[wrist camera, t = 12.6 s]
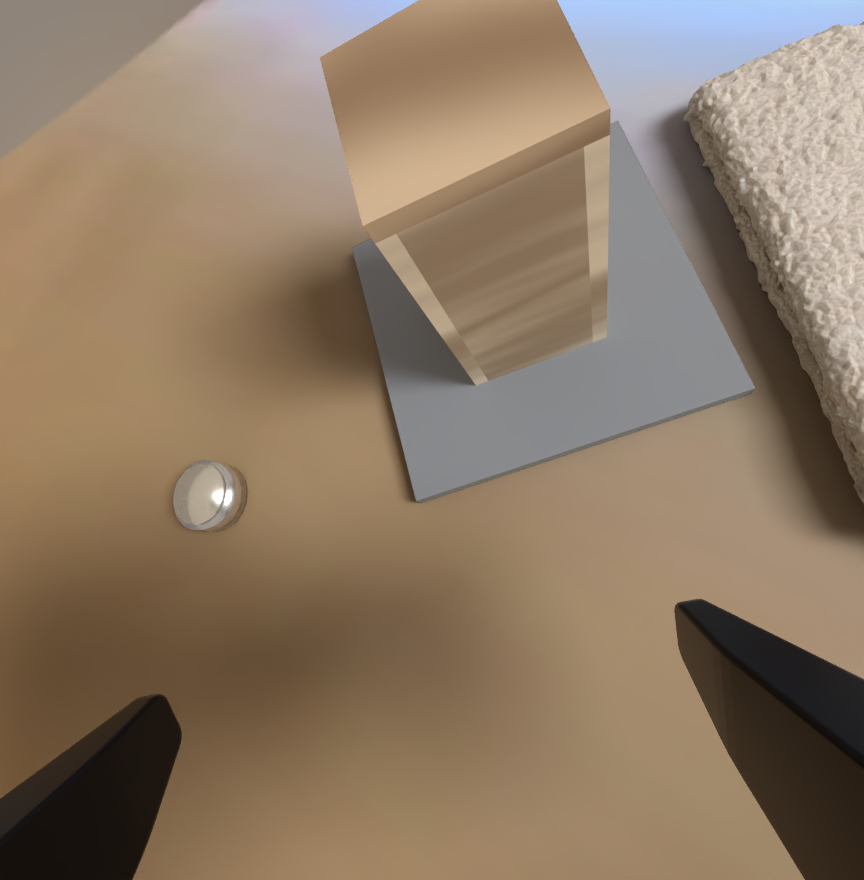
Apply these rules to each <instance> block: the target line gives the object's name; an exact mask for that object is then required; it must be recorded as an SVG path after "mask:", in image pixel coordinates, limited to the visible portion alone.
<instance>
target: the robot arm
mask: <svg viewBox="0 0 864 880" xmlns="http://www.w3.org/2000/svg"><path fill="white" fill-rule="evenodd" d="M675 621H676V630H677V639H678V646H679V650H680V654H681V656H682V659H683V661H684V663H685V665H686V668H687V670H688V672H689V674H690V676H691V678H692V680H693V682H694V684H695V686H696V688H697V690H698V692H699V694H700V697H701V699H702V701H703V703H704V705H705V707H706V709H707V711H708V713H709V715H710V717H711V719H712V721H713V723H714V726H715V728H716V730H717V732H718V734H719V736H720V738H721V740H722V742H723V744H724V746H725V748H726V750H727V752H728V754H729V756H730V757H731V759H732V761H733V762H734V764H735V766H736V768H737V769H738V771H739V773H740V774H741V776H742V778H743V779H744V781H745V782H746V784H747V786H748V787H749V789H750V791H751V792H752V794H753V796H754V797H755V799H756V800H757V802H758V804H759V805H760V807H761V809H762V810H763V812H764V814H765V815H766V817H767V818H768V820H769V822H770V823H771V825H772V827H773V828H774V830H775V831H776V833H777V835H778V836H779V838H780V840H781V841H782V843H783V845H784V846H785V848H786V849H787V851H788V853H789V854H790V856H791V858H792V859H793V861H794V863H795V864H796V866H797V867H798V869H799V871H800V872H801V874H802V876H803V877H804V879H805V880H864V679H862V678H860V677H858V676H856V675H854V674H852V673H850V672H848V671H846V670H844V669H842V668H840V667H838V666H836V665H834V664H832V663H830V662H828V661H826V660H824V659H822V658H820V657H818V656H816V655H814V654H812V653H810V652H808V651H806V650H804V649H802V648H800V647H798V646H796V645H794V644H792V643H790V642H788V641H786V640H784V639H782V638H780V637H778V636H776V635H774V634H772V633H770V632H768V631H766V630H763V629H761V628H759V627H757V626H755V625H753V624H751V623H749V622H747V621H745V620H743V619H741V618H739V617H737V616H735V615H733V614H731V613H729V612H727V611H725V610H723V609H721V608H719V607H717V606H715V605H713V604H711V603H709V602H707V601H705V600H702V599H695V600H689V601H683V602H679V603H677V604H676V605H675ZM180 743H181V728H180V725H179V723H178V721H177V719H176V717H175V715H174V713H173V711H172V709H171V706H170V704H169V702H168V700H167V699H166V697H165V696H163V695H161V694H155V695H149V696H144V697H140V698H137V699H136V700H134V701H133V702H131V703H130V704H129V705H127V706H126V707H125V708H123V709H122V710H121V711H119V712H118V713H116V714H115V715H114V716H112V717H111V718H110V719H108V720H107V721H106V722H104V723H103V724H101V725H100V726H99V727H97V728H96V729H95V730H93V731H92V732H91V733H89V734H88V735H87V736H85V737H84V738H82V739H81V740H80V741H78V742H77V743H76V744H74V745H73V746H72V747H70V748H69V749H67V750H66V751H65V752H63V753H62V754H61V755H59V756H58V757H57V758H55V759H54V760H52V761H51V762H50V763H48V764H47V765H46V766H44V767H43V768H42V769H40V770H39V771H37V772H36V773H35V774H33V775H32V776H31V777H29V778H28V779H27V780H25V781H24V782H23V783H21V784H20V785H18V786H17V787H16V788H14V789H13V790H12V791H10V792H9V793H8V794H6V795H5V796H3V797H2V798H1V799H0V880H133V877H134V875H135V873H136V870H137V868H138V865H139V863H140V861H141V858H142V856H143V853H144V851H145V848H146V846H147V843H148V841H149V838H150V835H151V832H152V829H153V826H154V823H155V821H156V817H157V814H158V811H159V808H160V805H161V802H162V799H163V796H164V793H165V790H166V787H167V784H168V781H169V778H170V775H171V771H172V768H173V765H174V762H175V759H176V756H177V753H178V750H179V747H180Z"/></svg>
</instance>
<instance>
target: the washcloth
mask: <svg viewBox="0 0 864 880" xmlns="http://www.w3.org/2000/svg"><path fill="white" fill-rule="evenodd" d="M683 121H686V122H689V125H690V128H691V134H692V136H693V137H694V140H695V141H696V142H697V143H698V144H699V147H700V150H701V154H702V157H703V158H704V160H706V161H704V163H703V166H707V167H709V168H710V171H711V172H712V174H713V175H714V177H715V181H714V186H715V187H716V188H717V189H718V191H719V192H720V194H721V195H722V197H723V198H724V201H725V202H726V203H727V205H728V208H729V211H730V212H731V214H732V215H733V217H734V222H735V224H736V228H735V229H738V230H740V233H739V236H740V239H742V240H743V241H744V244H745V246H746V253H747V256H748V259H749V261H752V262H753V263H754V264H755V266H756V267H757V273H758V282H759V283H760V284H762V290H763V291H765V292H767V293H768V298H769V300H770V302H771V303H772V304H773V305H774V307H775V308H776V310H777V317H778V318H779V319H780V320H781V321H782V322H783V324H784V327H785V328H786V329H787V330H788V331H789V332H790V334H791V335H792V343H793V346H794V348H795V349H796V351H797V353H798V355H799V359H800V363H801V367H802V369H804V370H805V371H806V372H807V373H808V374H809V376H810V377H811V381H812V382H813V383H814V387H815V389H816V391H817V394H818V397H819V399H820V400H821V407H822V410H823V414H824V415H825V416H826V417H827V418H828V419H829V421H830V423H831V425H832V434H833V436H834V438H835V439H836V441H837V444H838V447H839V449H840V450H841V452H842V453H843V459H844V461H845V462H846V463H847V465H848V471H849V473H850V475H851V476H852V478H853V479H854V481H855V484H854V485H853V486H854V487H855V490H856V491H857V494H858V496H859V498H860V499H861V501H862V502H863V505H864V22H863V23H861V24H860V25H855V26H852V25H840V24H838V25H835V26H832V27H830V28H829V29H828V30H826V31H824V32H821V33H817V34H816V35H814V36H813V37H808V38H804V39H802V40H799V41H797V42H794V43H791V44H788V45H785V46H783V47H781V48H779V49H778V50H777V51H774V52H772V53H771V54H768V55H766V56H764V57H760V58H756V59H755V60H754V61H751V62H748V63H746V64H743V65H742V66H740V67H739V68H737V69H736V70H733V71H731V72H728V73H724V74H722V75H720V76H718V77H716V78H714V79H710V80H707V81H706V82H705V84H704V85H702V86H700V88H699V89H698V90H697V91H696V92H695V93H694V95H693V97H692V98H691V99H690V102H689V105H688V110H687V113H686V114H685V116H684V117H683Z"/></svg>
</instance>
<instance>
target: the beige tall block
mask: <svg viewBox="0 0 864 880" xmlns="http://www.w3.org/2000/svg"><path fill="white" fill-rule="evenodd" d="M320 60H321V64H322V68H323V72H324V76H325V80H326V83H327V87H328V91H329V95H330V99H331V103H332V107H333V111H334V115H335V119H336V123H337V127H338V131H339V135H340V139H341V143H342V147H343V150H344V154H345V158H346V162H347V166H348V170H349V174H350V178H351V182H352V186H353V190H354V194H355V198H356V202H357V206H358V210H359V214H360V217H361V221H362V225H363V227H364V229H365V230H366V231H367V233H368V234H369V236H370V237H371V239H372V240H373V241H374V243H375V244H376V246H377V247H378V248H379V250H380V251H381V253H382V254H383V255H384V257H385V258H386V260H387V261H388V262H389V264H390V265H391V267H392V268H393V269H394V271H395V272H396V274H397V275H398V276H399V278H400V279H401V281H402V282H403V284H404V285H405V286H406V288H407V289H408V291H409V292H410V293H411V295H412V296H413V298H414V299H415V300H416V302H417V303H418V305H419V306H420V307H421V309H422V310H423V312H424V313H425V314H426V316H427V317H428V319H429V320H430V321H431V323H432V324H433V326H434V327H435V329H436V330H437V331H438V333H439V334H440V336H441V337H442V338H443V340H444V341H445V343H446V344H447V345H448V347H449V348H450V350H451V351H452V352H453V354H454V355H455V357H456V358H457V359H458V361H459V362H460V364H461V365H462V366H463V368H464V369H465V371H466V372H467V374H468V375H469V376H470V378H471V379H472V381H473V382H474V383H475V385H479V384H482V383H485V382H487V381H490V380H493V379H495V378H498V377H501V376H503V375H506V374H509V373H512V372H514V371H517V370H520V369H522V368H525V367H528V366H530V365H533V364H536V363H539V362H541V361H544V360H547V359H549V358H552V357H555V356H558V355H560V354H563V353H566V352H568V351H571V350H574V349H576V348H579V347H582V346H585V345H587V344H590V343H593V342H595V341H598V340H601V339H604V338H606V337H607V289H608V227H609V164H610V106H609V104H608V102H607V100H606V98H605V96H604V94H603V92H602V90H601V88H600V86H599V84H598V82H597V80H596V78H595V76H594V74H593V72H592V70H591V68H590V66H589V64H588V62H587V60H586V58H585V56H584V54H583V52H582V50H581V48H580V46H579V44H578V42H577V40H576V38H575V36H574V34H573V32H572V30H571V28H570V26H569V24H568V22H567V20H566V18H565V16H564V14H563V12H562V10H561V8H560V6H559V4H558V2H557V0H419V1H417V2H415V3H413V4H412V5H410V6H408V7H407V8H405V9H403V10H401V11H400V12H398V13H396V14H394V15H393V16H391V17H389V18H388V19H386V20H384V21H382V22H381V23H379V24H377V25H375V26H374V27H372V28H370V29H369V30H367V31H365V32H363V33H362V34H360V35H358V36H356V37H355V38H353V39H351V40H349V41H348V42H346V43H344V44H343V45H341V46H339V47H337V48H336V49H334V50H332V51H330V52H329V53H327V54H325V55H324V56H322V57H320Z"/></svg>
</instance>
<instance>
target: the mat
mask: <svg viewBox="0 0 864 880" xmlns="http://www.w3.org/2000/svg"><path fill="white" fill-rule="evenodd" d="M352 250H353V254H354V258H355V262H356V266H357V270H358V274H359V278H360V282H361V286H362V290H363V293H364V297H365V301H366V305H367V309H368V313H369V317H370V321H371V325H372V329H373V333H374V337H375V341H376V345H377V349H378V353H379V357H380V361H381V365H382V369H383V372H384V376H385V380H386V384H387V388H388V392H389V396H390V400H391V404H392V408H393V412H394V416H395V420H396V424H397V428H398V432H399V436H400V440H401V444H402V448H403V451H404V455H405V459H406V463H407V467H408V471H409V475H410V479H411V483H412V487H413V491H414V495H415V499H416V501H417V502H420V503H423V502H426V501H429V500H432V499H435V498H438V497H441V496H444V495H447V494H450V493H453V492H456V491H459V490H462V489H465V488H468V487H471V486H474V485H477V484H480V483H483V482H486V481H489V480H492V479H495V478H498V477H501V476H504V475H507V474H510V473H513V472H516V471H519V470H522V469H525V468H528V467H531V466H534V465H537V464H540V463H543V462H546V461H549V460H552V459H555V458H558V457H562V456H565V455H568V454H571V453H574V452H577V451H580V450H583V449H586V448H589V447H592V446H595V445H598V444H601V443H604V442H607V441H610V440H613V439H616V438H619V437H622V436H625V435H628V434H631V433H634V432H637V431H640V430H643V429H646V428H649V427H652V426H655V425H658V424H661V423H664V422H667V421H670V420H673V419H676V418H679V417H682V416H685V415H688V414H691V413H694V412H697V411H700V410H703V409H707V408H710V407H713V406H716V405H719V404H722V403H725V402H728V401H731V400H734V399H737V398H740V397H743V396H746V395H749V394H751V393H752V392H753V390H754V389H755V386H754V384H753V382H752V380H751V379H750V377H749V375H748V373H747V371H746V369H745V367H744V365H743V363H742V361H741V359H740V357H739V355H738V353H737V351H736V349H735V347H734V345H733V343H732V342H731V340H730V338H729V336H728V334H727V332H726V330H725V328H724V326H723V324H722V322H721V320H720V318H719V316H718V314H717V312H716V310H715V308H714V307H713V305H712V303H711V301H710V299H709V297H708V295H707V293H706V291H705V289H704V287H703V285H702V283H701V281H700V279H699V277H698V275H697V273H696V272H695V270H694V268H693V266H692V264H691V262H690V260H689V258H688V256H687V254H686V252H685V250H684V248H683V246H682V244H681V242H680V240H679V238H678V236H677V235H676V233H675V231H674V229H673V227H672V225H671V223H670V221H669V219H668V217H667V215H666V213H665V211H664V209H663V207H662V205H661V203H660V201H659V200H658V198H657V196H656V194H655V192H654V190H653V188H652V186H651V184H650V182H649V180H648V178H647V176H646V174H645V172H644V170H643V168H642V166H641V165H640V163H639V161H638V159H637V157H636V155H635V153H634V151H633V149H632V147H631V145H630V143H629V141H628V139H627V137H626V135H625V133H624V131H623V130H622V128H621V126H620V124H619V122H618V121H616V122H614V123H612V124H610V164H609V227H608V289H607V337H606V338H604V339H601V340H598V341H595V342H593V343H590V344H587V345H585V346H582V347H579V348H576V349H574V350H571V351H568V352H566V353H563V354H560V355H558V356H555V357H552V358H549V359H547V360H544V361H541V362H539V363H536V364H533V365H530V366H528V367H525V368H522V369H520V370H517V371H514V372H512V373H509V374H506V375H503V376H501V377H498V378H495V379H493V380H490V381H487V382H485V383H482V384H479V385H475V383H474V382H473V381H472V379H471V378H470V376H469V375H468V374H467V372H466V371H465V369H464V368H463V366H462V365H461V364H460V362H459V361H458V359H457V358H456V357H455V355H454V354H453V352H452V351H451V350H450V348H449V347H448V345H447V344H446V343H445V341H444V340H443V338H442V337H441V336H440V334H439V333H438V331H437V330H436V329H435V327H434V326H433V324H432V323H431V321H430V320H429V319H428V317H427V316H426V314H425V313H424V312H423V310H422V309H421V307H420V306H419V305H418V303H417V302H416V300H415V299H414V298H413V296H412V295H411V293H410V292H409V291H408V289H407V288H406V286H405V285H404V284H403V282H402V281H401V279H400V278H399V276H398V275H397V274H396V272H395V271H394V269H393V268H392V267H391V265H390V264H389V262H388V261H387V260H386V258H385V257H384V255H383V254H382V253H381V251H380V250H379V248H378V247H377V246H376V244H375V243H374V241H373V240H372V239H369V240H367V241H365V242H362V243H360V244H358V245H356V246H354V247H352Z"/></svg>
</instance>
